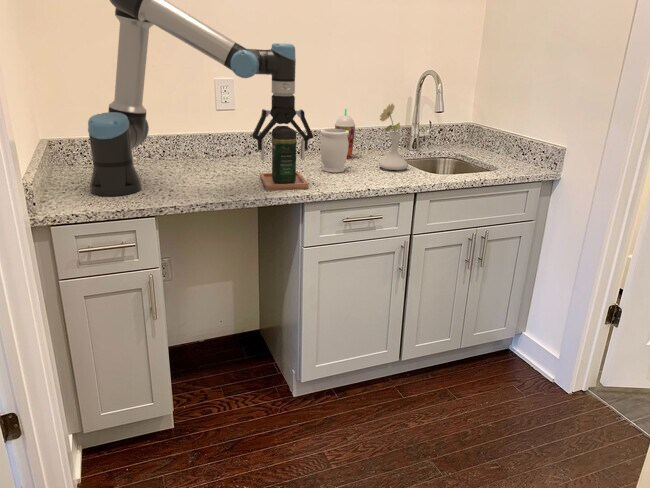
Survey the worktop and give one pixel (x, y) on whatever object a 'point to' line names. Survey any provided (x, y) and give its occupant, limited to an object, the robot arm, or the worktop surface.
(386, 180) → the worktop surface
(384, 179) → the worktop surface
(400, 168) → the flower in vase
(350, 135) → the smoothie
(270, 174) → the tray
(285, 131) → the coffee jar
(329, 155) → the jar
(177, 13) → the robot arm
